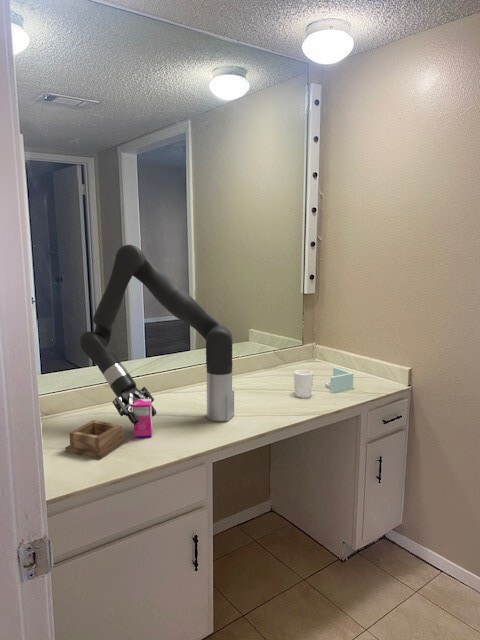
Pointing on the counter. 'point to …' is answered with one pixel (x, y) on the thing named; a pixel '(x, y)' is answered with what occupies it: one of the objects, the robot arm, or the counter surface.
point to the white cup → (303, 383)
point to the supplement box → (143, 418)
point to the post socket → (95, 439)
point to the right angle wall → (340, 380)
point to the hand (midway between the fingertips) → (145, 419)
